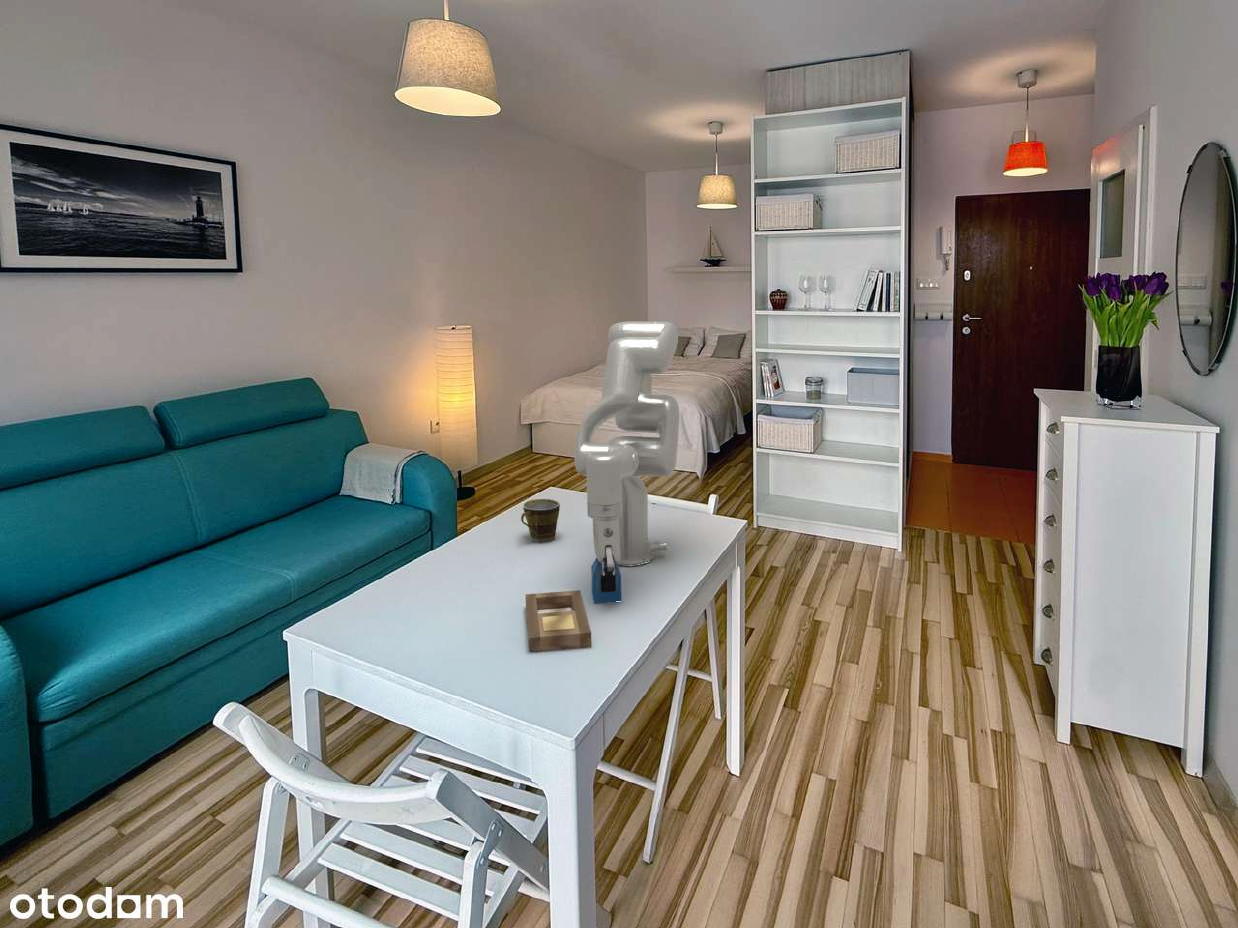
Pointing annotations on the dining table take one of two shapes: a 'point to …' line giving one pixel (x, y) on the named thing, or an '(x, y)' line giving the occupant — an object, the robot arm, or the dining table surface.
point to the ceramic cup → (541, 519)
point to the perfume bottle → (596, 584)
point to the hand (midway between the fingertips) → (606, 583)
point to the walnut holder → (557, 621)
